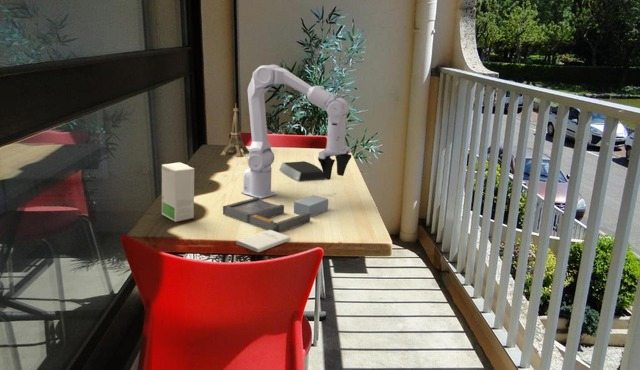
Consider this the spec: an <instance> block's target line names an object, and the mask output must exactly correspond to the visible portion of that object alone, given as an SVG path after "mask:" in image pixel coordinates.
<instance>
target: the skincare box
mask: <svg viewBox="0 0 640 370" xmlns="http://www.w3.org/2000/svg"><path fill="white" fill-rule="evenodd" d="M194 209H195V168H194V167H191V166H189V165H188V164H185V163H182V162H181V161H180V162H173V163H164V164H161V214H162V216H164V217H166V218H168V219H169V220H171V221H174V222H175V223H177V222H181V221H187V220H190V219H191V220H192V219H194V218H195V217H194V216H195V210H194Z"/></svg>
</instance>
